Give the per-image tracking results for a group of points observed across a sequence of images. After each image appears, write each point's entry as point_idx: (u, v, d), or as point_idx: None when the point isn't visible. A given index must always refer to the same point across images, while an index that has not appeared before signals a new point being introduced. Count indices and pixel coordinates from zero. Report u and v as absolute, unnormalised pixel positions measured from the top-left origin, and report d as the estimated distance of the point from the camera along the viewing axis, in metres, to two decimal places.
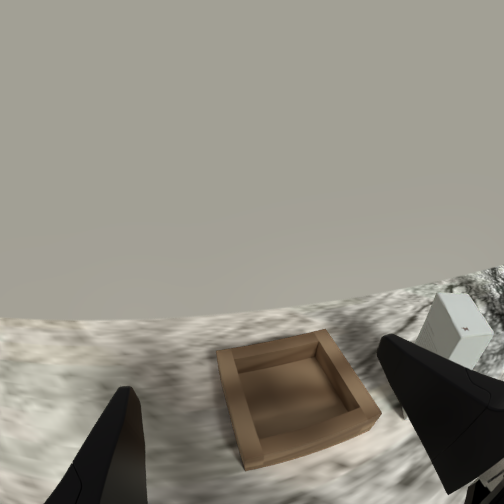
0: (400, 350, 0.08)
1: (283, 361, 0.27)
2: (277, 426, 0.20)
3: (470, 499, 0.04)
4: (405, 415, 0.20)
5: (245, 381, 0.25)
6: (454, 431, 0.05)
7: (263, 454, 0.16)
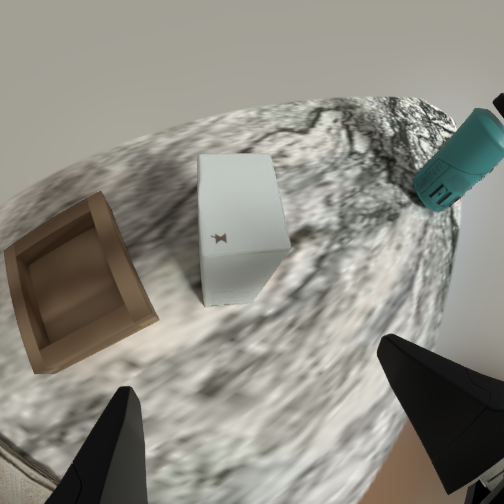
0: (400, 350, 0.08)
1: (64, 240, 0.21)
2: (64, 323, 0.19)
3: (470, 499, 0.04)
4: None
5: (36, 272, 0.20)
6: (454, 431, 0.05)
7: (45, 367, 0.15)
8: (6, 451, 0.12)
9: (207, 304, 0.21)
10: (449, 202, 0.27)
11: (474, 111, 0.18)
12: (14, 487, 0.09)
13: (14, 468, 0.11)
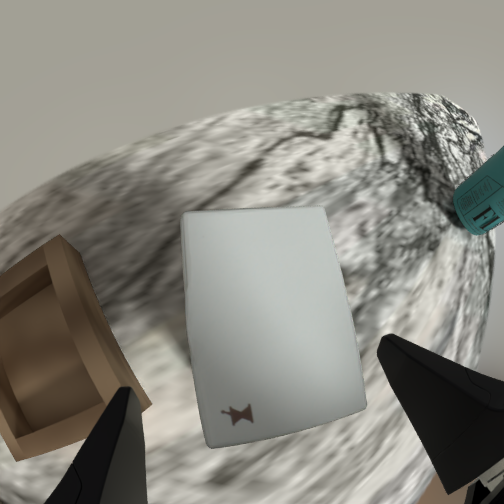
0: (400, 350, 0.08)
1: (25, 297, 0.14)
2: (38, 403, 0.12)
3: (470, 499, 0.04)
4: None
5: (0, 335, 0.13)
6: (454, 431, 0.05)
7: (25, 457, 0.08)
8: None
9: None
10: (493, 226, 0.20)
11: None
12: None
13: None
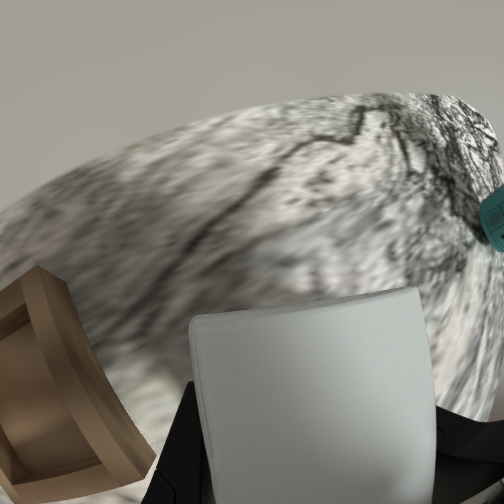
0: None
1: (7, 333, 0.11)
2: (31, 447, 0.09)
3: None
4: None
5: None
6: None
7: (24, 503, 0.05)
8: None
9: None
10: None
11: None
12: None
13: None
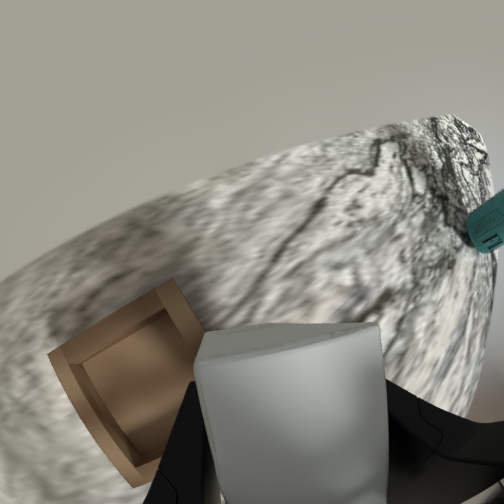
0: None
1: (127, 335, 0.19)
2: (149, 428, 0.17)
3: None
4: None
5: (96, 372, 0.17)
6: (400, 468, 0.05)
7: (146, 482, 0.13)
8: None
9: None
10: (497, 247, 0.24)
11: None
12: None
13: None
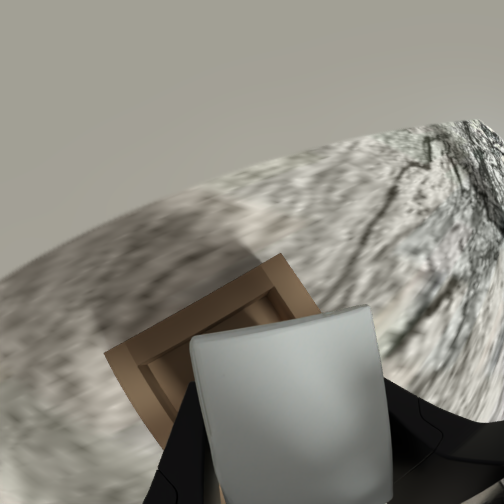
0: None
1: (216, 325, 0.16)
2: None
3: None
4: None
5: (167, 374, 0.15)
6: (400, 468, 0.05)
7: None
8: None
9: None
10: None
11: None
12: None
13: None
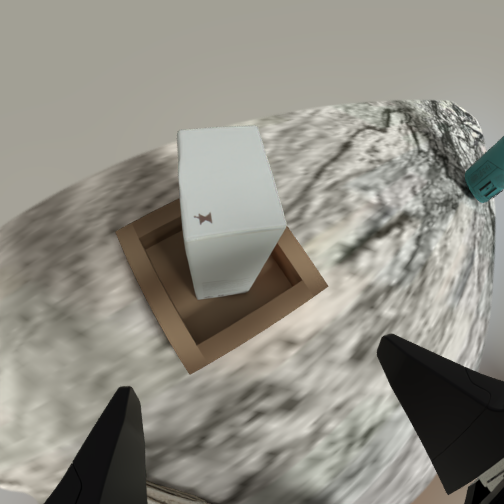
0: (400, 350, 0.08)
1: None
2: (210, 311, 0.21)
3: (470, 499, 0.04)
4: None
5: (159, 256, 0.22)
6: (454, 431, 0.05)
7: (207, 363, 0.17)
8: None
9: (199, 296, 0.20)
10: (493, 195, 0.29)
11: None
12: None
13: None
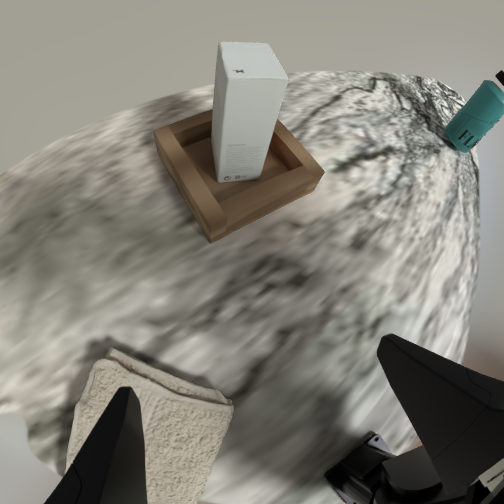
0: (400, 350, 0.08)
1: None
2: (228, 191, 0.25)
3: (470, 499, 0.04)
4: (217, 177, 0.25)
5: (187, 154, 0.26)
6: (454, 431, 0.05)
7: (226, 217, 0.21)
8: (140, 363, 0.18)
9: (220, 174, 0.24)
10: (471, 144, 0.33)
11: (484, 81, 0.24)
12: None
13: (153, 385, 0.17)
